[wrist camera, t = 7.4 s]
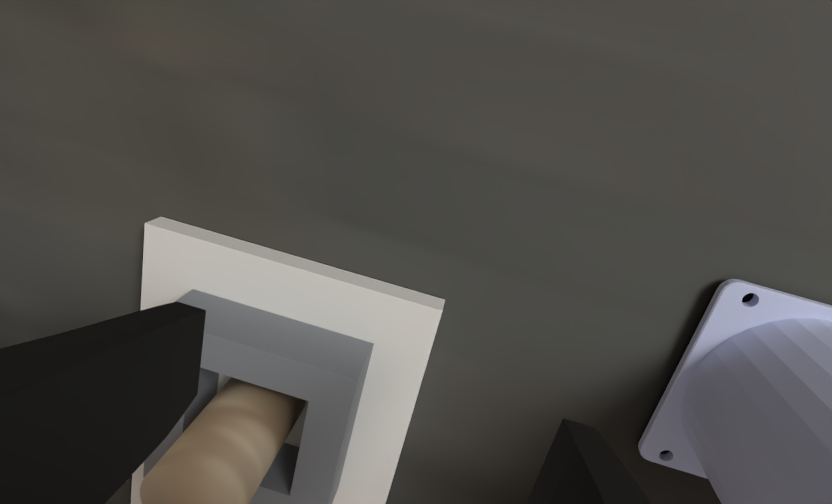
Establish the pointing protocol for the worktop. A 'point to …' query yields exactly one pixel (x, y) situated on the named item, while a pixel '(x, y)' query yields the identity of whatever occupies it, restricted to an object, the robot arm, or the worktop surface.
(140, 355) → the robot arm
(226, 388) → the peg
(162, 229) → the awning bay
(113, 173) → the worktop surface
